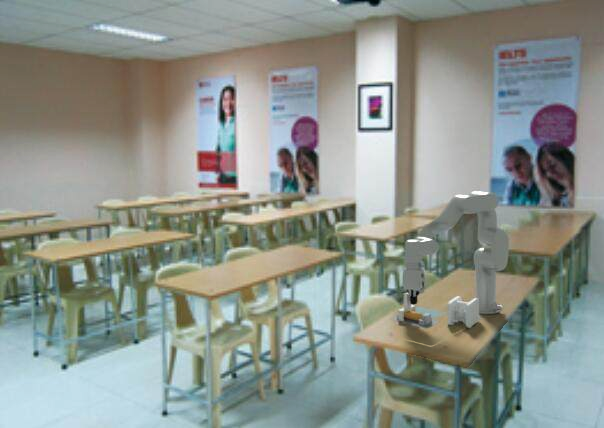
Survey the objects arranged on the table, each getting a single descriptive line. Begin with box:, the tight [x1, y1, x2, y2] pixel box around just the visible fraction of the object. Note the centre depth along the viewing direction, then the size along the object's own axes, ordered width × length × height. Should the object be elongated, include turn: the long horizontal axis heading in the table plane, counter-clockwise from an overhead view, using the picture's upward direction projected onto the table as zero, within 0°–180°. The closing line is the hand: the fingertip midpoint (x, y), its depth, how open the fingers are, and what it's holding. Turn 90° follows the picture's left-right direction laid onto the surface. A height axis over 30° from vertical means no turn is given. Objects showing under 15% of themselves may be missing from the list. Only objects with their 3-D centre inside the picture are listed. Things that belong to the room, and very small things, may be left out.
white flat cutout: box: [397, 292, 417, 322], centre depth 245 cm, size 2×12×12 cm, turn 135°
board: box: [389, 314, 441, 329], centre depth 243 cm, size 20×13×3 cm, turn 45°
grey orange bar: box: [398, 307, 431, 325], centre depth 243 cm, size 15×4×4 cm, turn 45°
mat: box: [409, 306, 447, 320], centre depth 255 cm, size 18×12×1 cm, turn 45°
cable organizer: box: [445, 295, 480, 329], centre depth 237 cm, size 15×11×12 cm
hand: (413, 303), depth 242 cm, fingers closed
